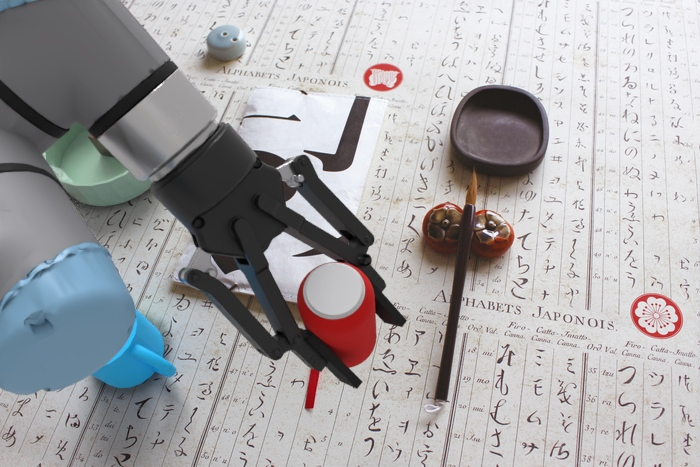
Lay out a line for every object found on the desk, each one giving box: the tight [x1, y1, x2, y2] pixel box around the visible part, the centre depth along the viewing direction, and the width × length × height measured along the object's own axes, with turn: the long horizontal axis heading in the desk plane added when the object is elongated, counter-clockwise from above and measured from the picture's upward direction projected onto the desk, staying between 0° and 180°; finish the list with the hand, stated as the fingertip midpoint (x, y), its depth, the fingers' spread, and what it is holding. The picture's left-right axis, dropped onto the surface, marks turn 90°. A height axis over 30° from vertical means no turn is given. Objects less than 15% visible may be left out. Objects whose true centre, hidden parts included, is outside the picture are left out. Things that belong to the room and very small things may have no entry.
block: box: [88, 121, 118, 158], centre depth 79 cm, size 4×4×4 cm
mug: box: [90, 307, 178, 389], centre depth 62 cm, size 12×8×8 cm
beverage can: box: [296, 261, 378, 369], centre depth 48 cm, size 6×6×12 cm
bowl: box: [42, 116, 152, 207], centre depth 78 cm, size 16×16×5 cm
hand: (373, 350), depth 49 cm, fingers closed on beverage can, 6 cm apart
